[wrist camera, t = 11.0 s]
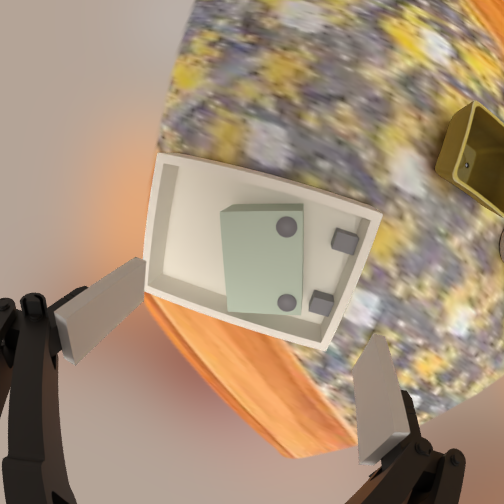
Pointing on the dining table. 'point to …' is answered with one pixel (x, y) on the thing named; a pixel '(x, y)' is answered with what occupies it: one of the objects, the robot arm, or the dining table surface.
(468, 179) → the flower pot
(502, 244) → the coffee cup
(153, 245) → the tray
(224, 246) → the dotted green block
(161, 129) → the dining table surface
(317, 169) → the dining table surface
